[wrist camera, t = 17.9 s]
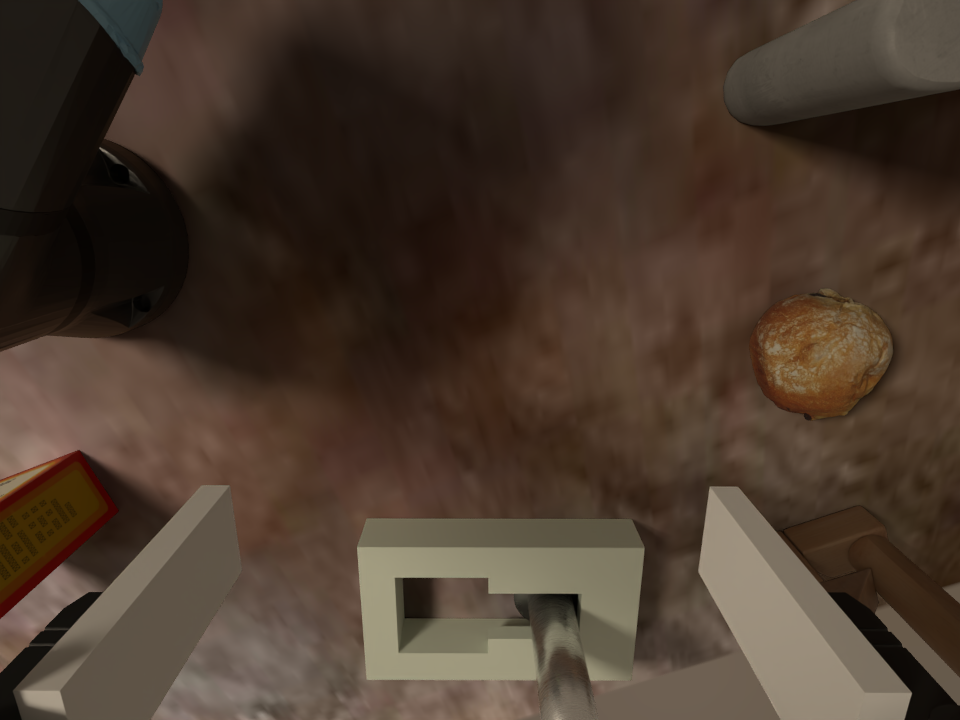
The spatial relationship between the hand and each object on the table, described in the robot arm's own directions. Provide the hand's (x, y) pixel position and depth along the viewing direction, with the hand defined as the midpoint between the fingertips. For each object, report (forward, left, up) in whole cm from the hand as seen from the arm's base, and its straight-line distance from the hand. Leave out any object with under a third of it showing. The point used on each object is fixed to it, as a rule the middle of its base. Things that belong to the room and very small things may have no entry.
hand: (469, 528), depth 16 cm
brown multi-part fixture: (+30, -22, -32) cm, 49 cm away
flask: (+25, +17, -32) cm, 44 cm away
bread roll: (+27, -4, -32) cm, 42 cm away
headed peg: (+7, -27, -32) cm, 42 cm away
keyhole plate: (+2, -27, -32) cm, 42 cm away
